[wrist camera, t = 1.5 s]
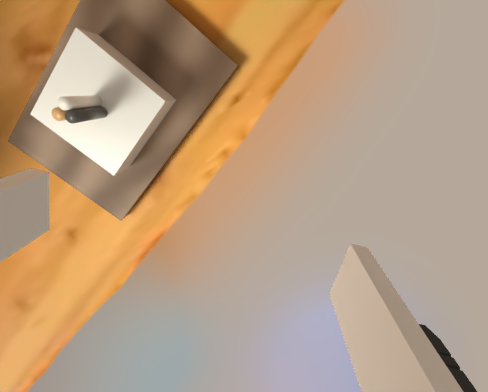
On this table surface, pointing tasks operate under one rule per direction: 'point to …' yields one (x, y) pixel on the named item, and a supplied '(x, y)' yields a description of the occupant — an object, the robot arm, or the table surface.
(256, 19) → the table surface
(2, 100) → the table surface
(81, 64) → the box
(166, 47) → the mounting board
